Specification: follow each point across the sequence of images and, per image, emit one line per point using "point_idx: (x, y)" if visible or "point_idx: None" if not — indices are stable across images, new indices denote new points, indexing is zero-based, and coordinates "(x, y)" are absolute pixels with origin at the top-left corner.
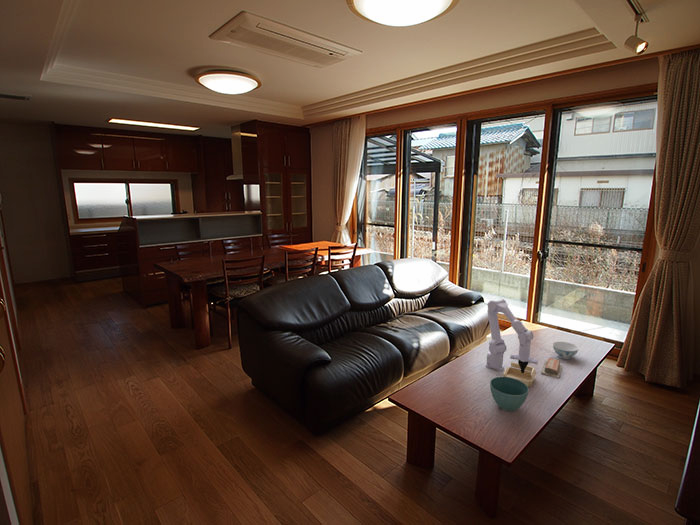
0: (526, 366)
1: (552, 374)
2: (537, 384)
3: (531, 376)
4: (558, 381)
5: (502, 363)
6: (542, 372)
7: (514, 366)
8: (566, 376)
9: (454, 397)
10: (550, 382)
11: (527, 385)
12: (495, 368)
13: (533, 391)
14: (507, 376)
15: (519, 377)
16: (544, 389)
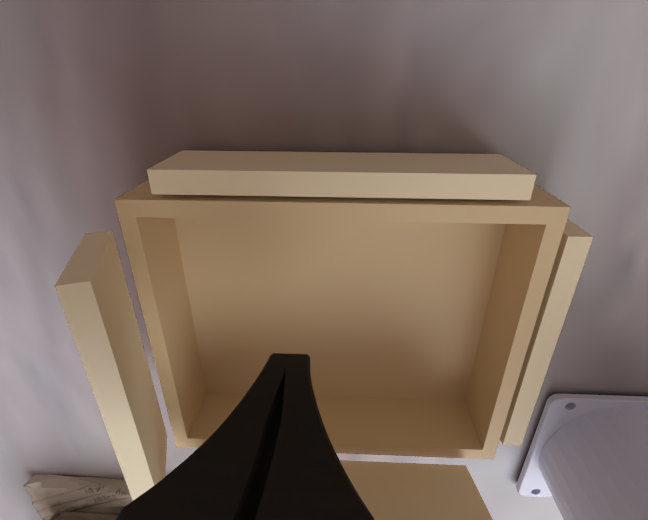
0: None
1: (84, 500)
2: None
3: (88, 264)
4: (4, 426)
5: (569, 497)
6: None
7: (425, 477)
8: (5, 514)
9: None
10: (45, 381)
11: (191, 153)
12: (627, 401)
13: (86, 52)
14: (516, 175)
15: (336, 327)
16: (11, 201)
